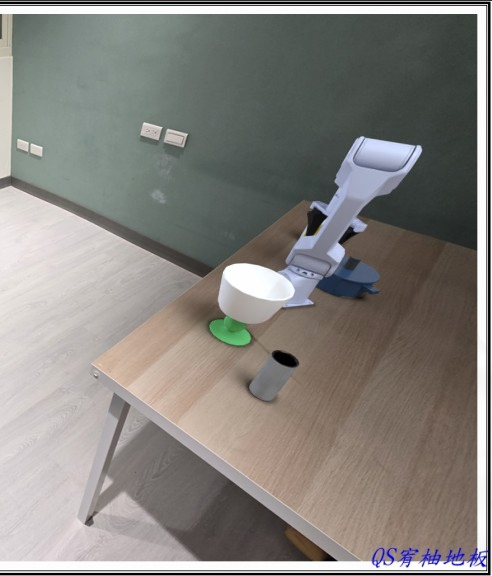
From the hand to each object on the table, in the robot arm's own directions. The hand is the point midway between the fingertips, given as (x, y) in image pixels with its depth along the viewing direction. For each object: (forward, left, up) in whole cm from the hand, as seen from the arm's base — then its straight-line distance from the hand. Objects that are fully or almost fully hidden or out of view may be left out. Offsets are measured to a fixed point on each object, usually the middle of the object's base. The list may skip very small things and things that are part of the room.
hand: (320, 242), depth 105 cm
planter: (-43, -37, -11) cm, 58 cm away
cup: (-38, -20, -11) cm, 44 cm away
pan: (+5, -7, -10) cm, 13 cm away
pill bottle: (+17, +15, -11) cm, 25 cm away
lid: (+5, -7, -5) cm, 10 cm away
